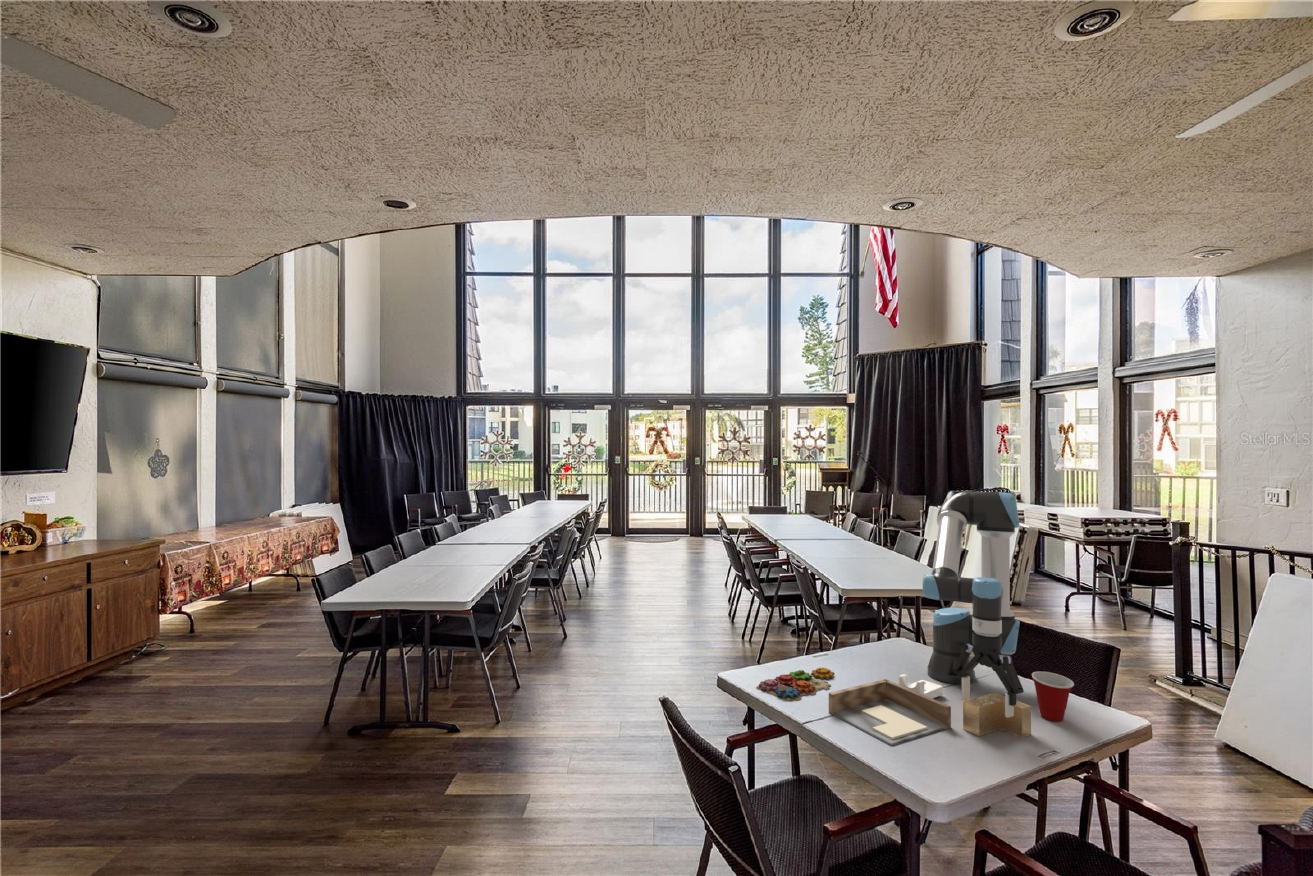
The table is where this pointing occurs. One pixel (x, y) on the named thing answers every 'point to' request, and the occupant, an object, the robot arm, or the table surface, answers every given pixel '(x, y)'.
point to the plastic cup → (1052, 694)
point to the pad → (893, 722)
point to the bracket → (922, 687)
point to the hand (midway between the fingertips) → (987, 707)
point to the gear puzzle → (797, 684)
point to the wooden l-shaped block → (995, 716)
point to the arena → (894, 698)
